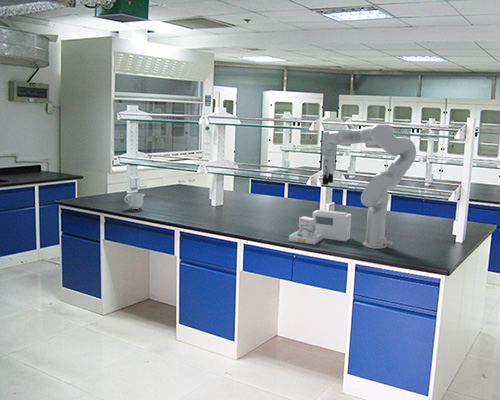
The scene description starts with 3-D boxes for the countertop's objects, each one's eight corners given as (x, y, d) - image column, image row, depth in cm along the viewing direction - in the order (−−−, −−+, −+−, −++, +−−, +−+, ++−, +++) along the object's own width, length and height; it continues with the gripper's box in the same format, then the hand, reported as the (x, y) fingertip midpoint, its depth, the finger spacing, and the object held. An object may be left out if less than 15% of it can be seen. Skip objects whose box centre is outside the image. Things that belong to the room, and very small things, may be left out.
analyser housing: (350, 238, 293) (351, 212, 291) (345, 241, 285) (347, 215, 283) (316, 233, 302) (317, 208, 299) (311, 236, 294) (312, 211, 292)
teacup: (119, 209, 358) (119, 194, 356) (137, 206, 368) (137, 192, 367) (130, 211, 350) (129, 197, 348) (148, 209, 360) (148, 194, 359)
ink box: (297, 238, 287) (298, 217, 285) (302, 236, 291) (303, 216, 289) (310, 241, 282) (311, 219, 280) (315, 239, 286) (316, 218, 284)
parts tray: (322, 239, 289) (322, 233, 289) (314, 244, 277) (314, 239, 277) (297, 235, 296) (298, 230, 295) (288, 241, 283) (288, 235, 283)
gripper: (331, 154, 280) (330, 186, 283) (339, 152, 296) (338, 182, 299) (317, 153, 283) (316, 185, 286) (326, 151, 299) (325, 181, 302)
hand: (327, 183), depth 292 cm, fingers open, 9 cm apart
